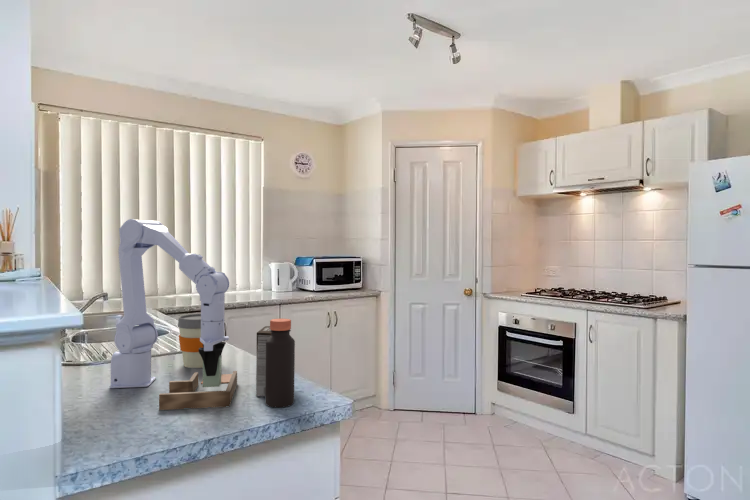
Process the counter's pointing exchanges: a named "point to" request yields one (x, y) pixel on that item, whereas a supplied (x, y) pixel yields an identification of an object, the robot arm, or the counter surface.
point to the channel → (196, 395)
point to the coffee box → (261, 360)
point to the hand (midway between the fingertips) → (212, 373)
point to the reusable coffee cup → (190, 340)
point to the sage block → (213, 380)
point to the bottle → (280, 365)
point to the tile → (224, 378)
